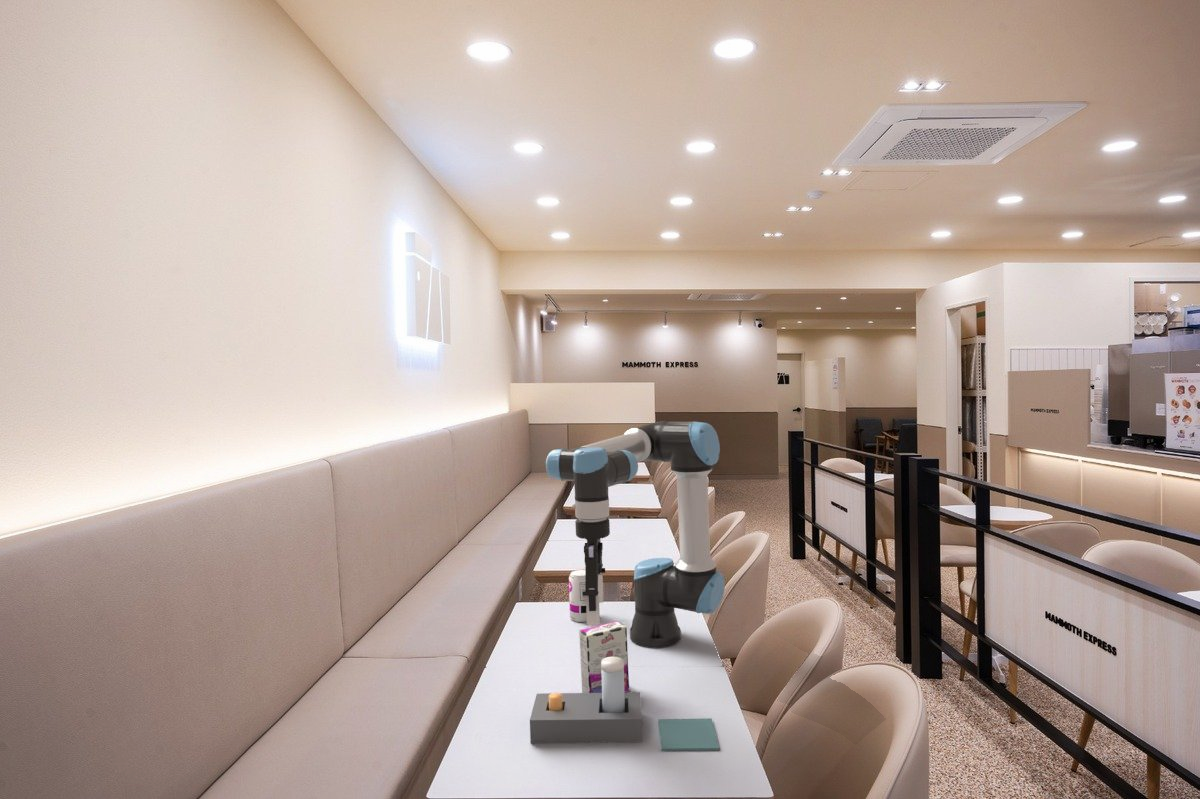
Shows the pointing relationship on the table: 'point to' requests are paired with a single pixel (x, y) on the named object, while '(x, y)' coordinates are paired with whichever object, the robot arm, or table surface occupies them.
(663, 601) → the robot arm
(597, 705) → the housing
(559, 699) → the plunger
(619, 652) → the candy bar box
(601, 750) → the table surface
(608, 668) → the cylinder
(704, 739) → the mat
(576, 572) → the supplement can
